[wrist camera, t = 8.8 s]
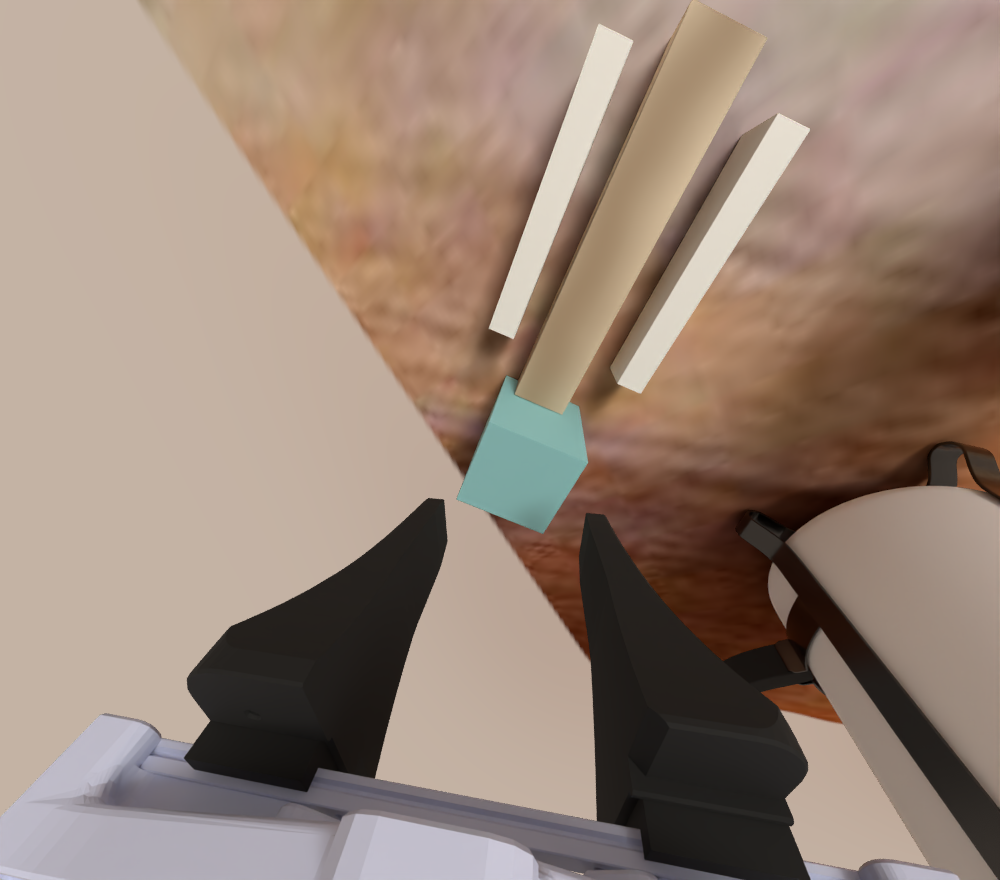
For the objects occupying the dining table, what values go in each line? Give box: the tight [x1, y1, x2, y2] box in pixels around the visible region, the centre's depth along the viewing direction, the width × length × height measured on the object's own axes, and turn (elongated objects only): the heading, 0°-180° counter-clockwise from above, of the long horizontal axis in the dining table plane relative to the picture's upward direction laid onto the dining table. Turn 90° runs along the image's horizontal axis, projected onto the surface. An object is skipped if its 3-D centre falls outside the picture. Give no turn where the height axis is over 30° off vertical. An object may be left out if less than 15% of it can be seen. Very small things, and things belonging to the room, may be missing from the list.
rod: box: [515, 0, 767, 415], centre depth 15 cm, size 3×14×3 cm, turn 159°
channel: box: [489, 24, 810, 394], centre depth 15 cm, size 8×10×2 cm
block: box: [457, 375, 588, 534], centre depth 18 cm, size 4×4×6 cm
